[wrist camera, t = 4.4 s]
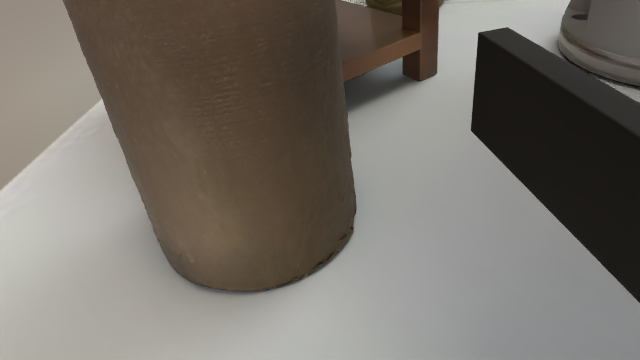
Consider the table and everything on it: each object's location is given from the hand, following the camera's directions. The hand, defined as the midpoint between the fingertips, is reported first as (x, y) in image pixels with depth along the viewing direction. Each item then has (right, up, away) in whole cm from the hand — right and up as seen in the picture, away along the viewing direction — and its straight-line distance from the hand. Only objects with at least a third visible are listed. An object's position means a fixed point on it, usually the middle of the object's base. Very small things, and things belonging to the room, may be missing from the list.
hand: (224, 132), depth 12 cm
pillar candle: (-1, -3, +13) cm, 13 cm away
